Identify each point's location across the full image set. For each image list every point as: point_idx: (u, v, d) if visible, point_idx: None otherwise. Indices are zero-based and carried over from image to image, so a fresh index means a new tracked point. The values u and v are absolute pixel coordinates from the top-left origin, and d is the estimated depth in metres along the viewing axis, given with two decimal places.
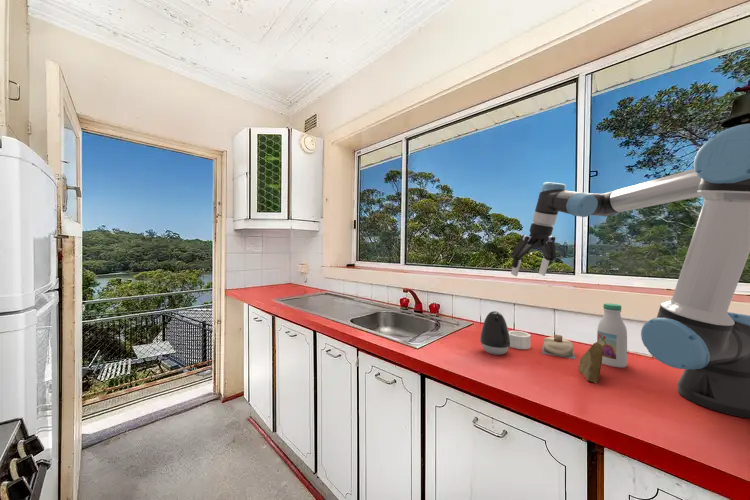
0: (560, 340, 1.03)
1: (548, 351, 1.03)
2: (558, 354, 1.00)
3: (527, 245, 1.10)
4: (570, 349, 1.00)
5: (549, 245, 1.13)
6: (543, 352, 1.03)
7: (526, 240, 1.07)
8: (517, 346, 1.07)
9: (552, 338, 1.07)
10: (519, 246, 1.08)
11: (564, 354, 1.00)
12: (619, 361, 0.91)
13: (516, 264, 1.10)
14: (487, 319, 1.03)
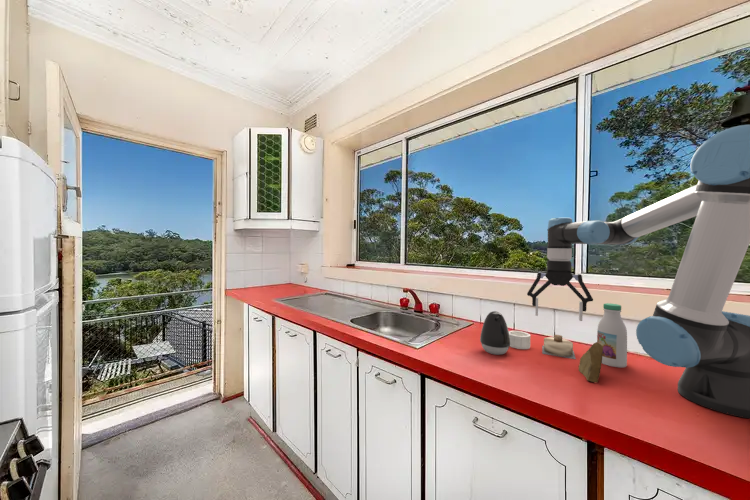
0: (560, 340, 1.03)
1: (548, 351, 1.03)
2: (558, 354, 1.00)
3: (545, 283, 1.06)
4: (570, 349, 1.00)
5: (580, 285, 1.01)
6: (543, 352, 1.03)
7: (538, 276, 1.06)
8: (517, 346, 1.07)
9: (552, 338, 1.07)
10: (533, 283, 1.08)
11: (564, 354, 1.00)
12: (619, 361, 0.91)
13: (534, 302, 1.07)
14: (487, 319, 1.03)
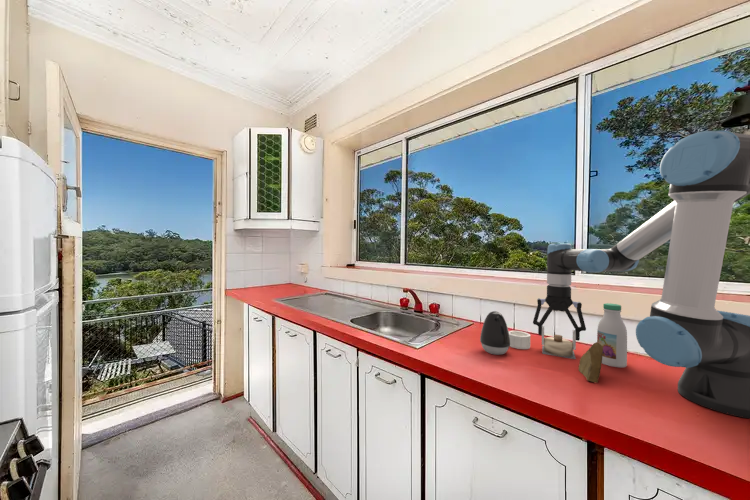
0: (560, 340, 1.03)
1: (548, 351, 1.03)
2: (558, 354, 1.00)
3: (547, 309, 1.06)
4: (570, 349, 1.00)
5: (577, 312, 1.01)
6: (543, 352, 1.03)
7: (538, 303, 1.06)
8: (517, 346, 1.07)
9: (552, 338, 1.07)
10: (536, 310, 1.07)
11: (564, 354, 1.00)
12: (619, 361, 0.91)
13: (540, 331, 1.06)
14: (487, 319, 1.03)
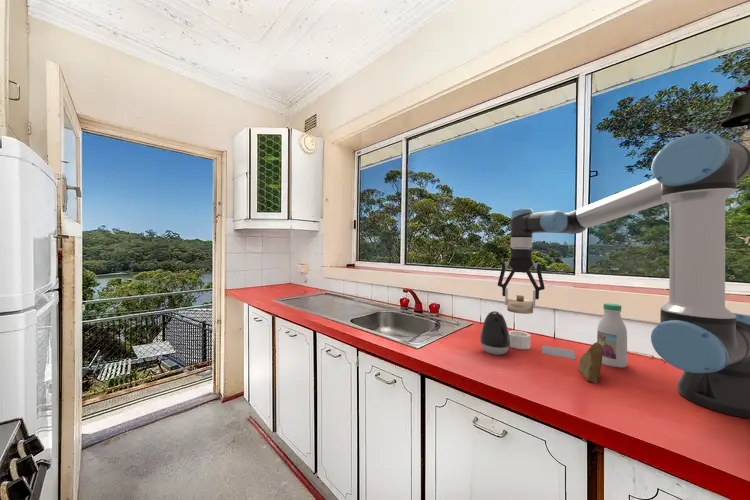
0: (521, 299, 1.09)
1: (510, 310, 1.10)
2: (518, 312, 1.07)
3: None
4: (530, 307, 1.07)
5: (537, 273, 1.08)
6: (543, 352, 1.03)
7: (503, 266, 1.13)
8: (517, 346, 1.07)
9: (515, 299, 1.14)
10: None
11: (524, 311, 1.06)
12: (619, 361, 0.91)
13: (504, 292, 1.13)
14: (487, 319, 1.03)
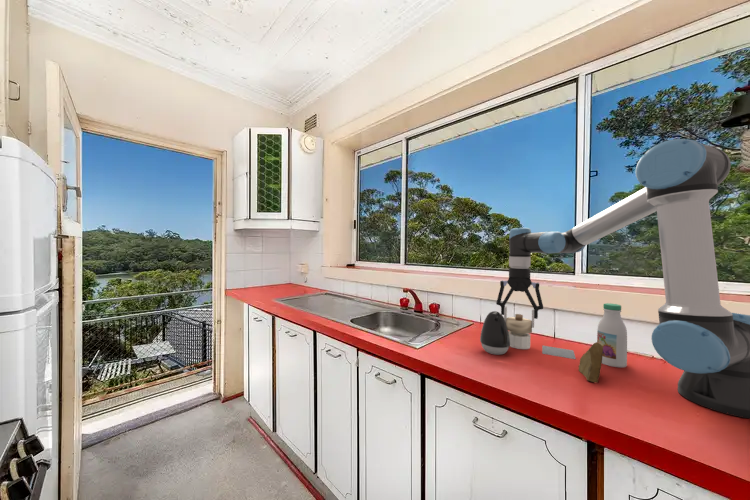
0: (520, 319, 1.09)
1: (509, 329, 1.09)
2: (517, 331, 1.07)
3: None
4: (529, 326, 1.07)
5: (536, 292, 1.08)
6: (543, 352, 1.03)
7: (501, 285, 1.13)
8: (517, 346, 1.07)
9: (514, 318, 1.14)
10: (499, 292, 1.14)
11: (523, 331, 1.06)
12: (619, 361, 0.91)
13: (502, 311, 1.13)
14: (487, 319, 1.03)
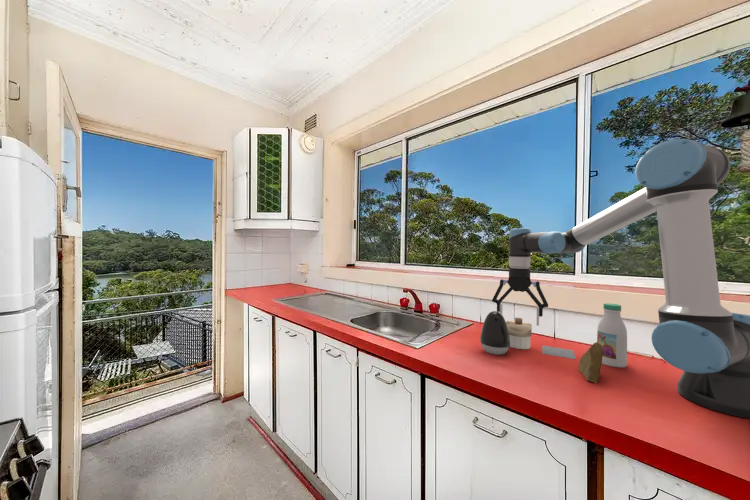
0: (520, 322, 1.09)
1: (509, 333, 1.09)
2: (517, 335, 1.07)
3: (508, 289, 1.13)
4: (528, 330, 1.07)
5: (538, 291, 1.07)
6: (543, 352, 1.03)
7: (501, 283, 1.13)
8: (517, 346, 1.07)
9: (514, 321, 1.14)
10: (497, 289, 1.14)
11: (522, 335, 1.06)
12: (619, 361, 0.91)
13: (498, 308, 1.14)
14: (487, 319, 1.03)
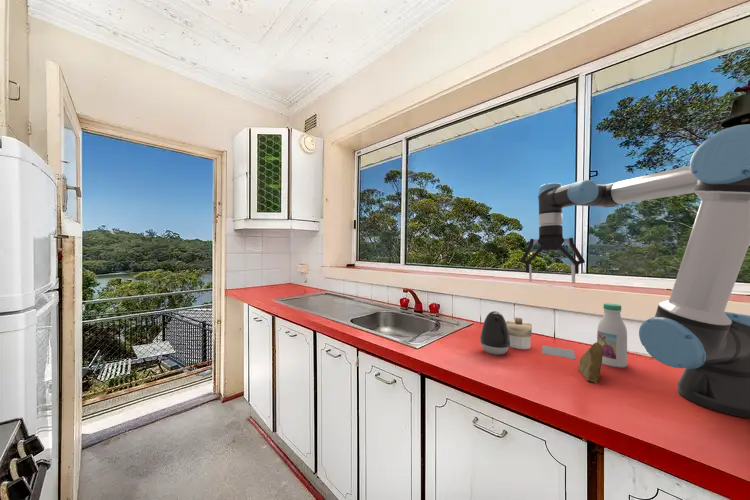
0: (520, 322, 1.09)
1: (509, 333, 1.09)
2: (517, 335, 1.07)
3: (538, 249, 1.08)
4: (528, 330, 1.07)
5: (571, 248, 1.03)
6: (543, 352, 1.03)
7: (530, 242, 1.08)
8: (517, 346, 1.07)
9: (514, 321, 1.14)
10: (526, 250, 1.09)
11: (522, 335, 1.06)
12: (619, 361, 0.91)
13: (527, 268, 1.09)
14: (487, 319, 1.03)
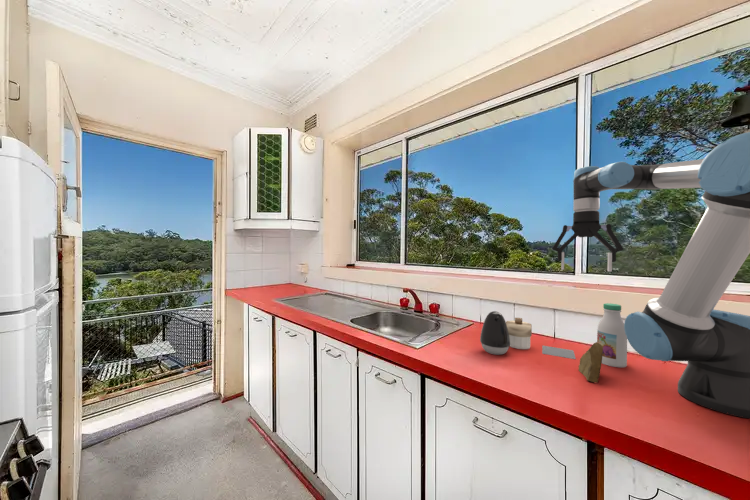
0: (520, 322, 1.09)
1: (509, 333, 1.09)
2: (517, 335, 1.07)
3: (571, 236, 1.04)
4: (528, 330, 1.07)
5: (609, 235, 0.98)
6: (543, 352, 1.03)
7: (564, 229, 1.04)
8: (517, 346, 1.07)
9: (514, 321, 1.14)
10: (559, 237, 1.05)
11: (522, 335, 1.06)
12: (619, 361, 0.91)
13: (560, 256, 1.05)
14: (487, 319, 1.03)
